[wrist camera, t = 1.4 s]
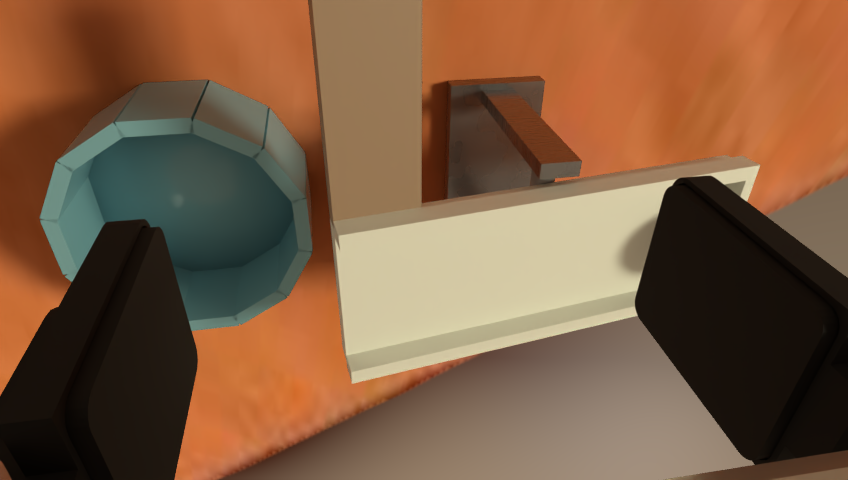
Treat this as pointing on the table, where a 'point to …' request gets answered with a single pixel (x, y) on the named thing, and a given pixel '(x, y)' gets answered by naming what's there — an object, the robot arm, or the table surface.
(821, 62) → the table surface
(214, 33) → the table surface
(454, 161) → the lever stand
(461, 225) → the lever
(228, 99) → the teal round bowl
